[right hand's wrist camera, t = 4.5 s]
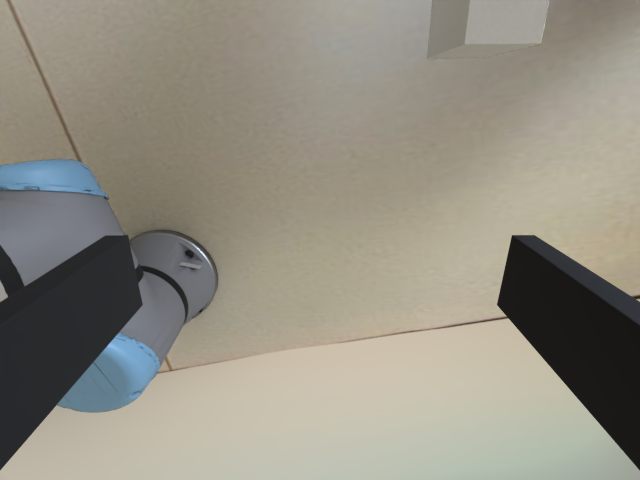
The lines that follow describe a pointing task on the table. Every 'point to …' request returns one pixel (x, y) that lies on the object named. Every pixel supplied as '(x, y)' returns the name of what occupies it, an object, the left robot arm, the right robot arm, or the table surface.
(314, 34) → the table surface
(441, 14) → the box
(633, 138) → the table surface
